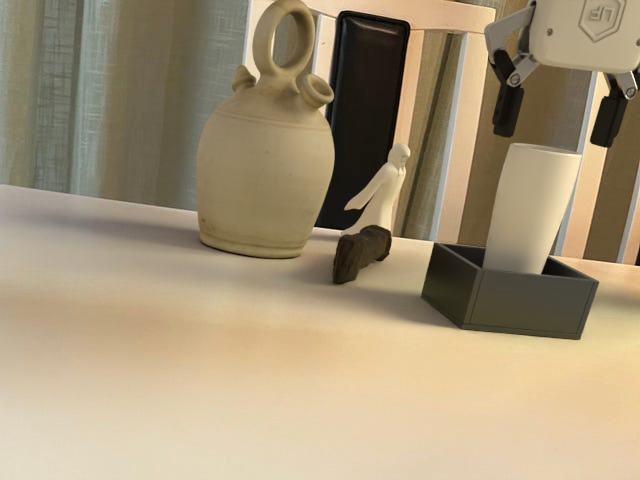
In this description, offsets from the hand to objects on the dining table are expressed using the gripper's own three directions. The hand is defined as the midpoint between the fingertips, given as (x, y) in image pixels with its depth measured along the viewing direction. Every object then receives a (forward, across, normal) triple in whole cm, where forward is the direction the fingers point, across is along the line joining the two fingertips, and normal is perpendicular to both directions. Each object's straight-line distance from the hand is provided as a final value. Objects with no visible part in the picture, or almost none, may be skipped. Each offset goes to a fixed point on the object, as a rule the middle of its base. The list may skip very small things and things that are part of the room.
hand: (551, 140), depth 93 cm
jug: (+16, -22, +24) cm, 36 cm away
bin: (+16, -1, 0) cm, 16 cm away
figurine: (+16, -5, +35) cm, 39 cm away
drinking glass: (+16, -1, 0) cm, 16 cm away
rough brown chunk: (+16, -11, +15) cm, 25 cm away
